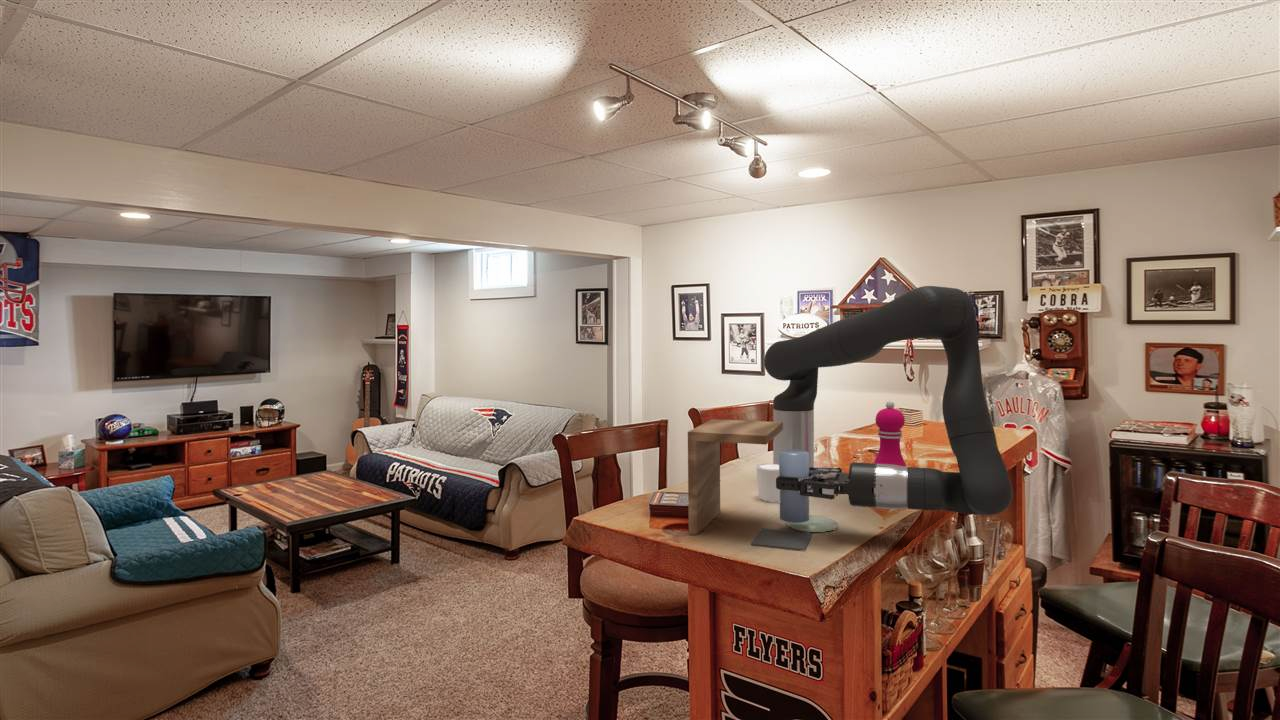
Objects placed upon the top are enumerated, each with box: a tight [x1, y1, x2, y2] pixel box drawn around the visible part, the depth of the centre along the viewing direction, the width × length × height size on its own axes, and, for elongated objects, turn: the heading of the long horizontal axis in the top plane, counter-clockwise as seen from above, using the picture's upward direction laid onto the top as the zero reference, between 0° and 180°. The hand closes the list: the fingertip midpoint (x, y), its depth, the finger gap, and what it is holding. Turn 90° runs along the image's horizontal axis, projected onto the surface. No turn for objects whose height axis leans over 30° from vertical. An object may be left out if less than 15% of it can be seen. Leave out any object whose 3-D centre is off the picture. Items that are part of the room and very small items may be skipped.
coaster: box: [787, 514, 839, 533], centre depth 124 cm, size 9×9×1 cm
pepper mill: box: [873, 400, 907, 467], centre depth 146 cm, size 7×7×20 cm
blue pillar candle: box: [779, 450, 810, 523], centre depth 120 cm, size 5×5×12 cm
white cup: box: [755, 463, 780, 503], centre depth 142 cm, size 7×7×7 cm
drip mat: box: [750, 527, 813, 551], centre depth 116 cm, size 9×9×1 cm
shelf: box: [687, 418, 783, 536], centre depth 124 cm, size 14×16×18 cm
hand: (779, 479), depth 121 cm, fingers closed on blue pillar candle, 5 cm apart
